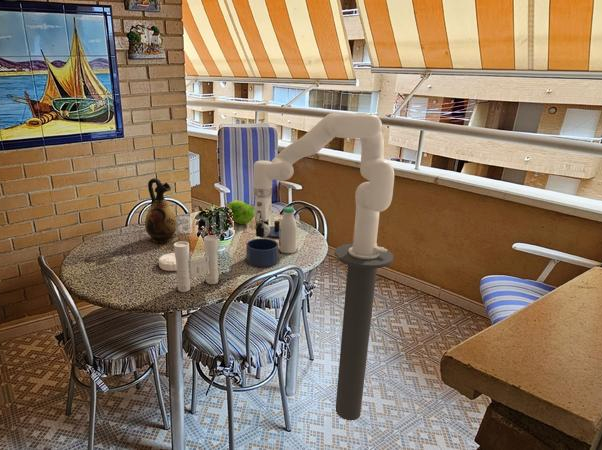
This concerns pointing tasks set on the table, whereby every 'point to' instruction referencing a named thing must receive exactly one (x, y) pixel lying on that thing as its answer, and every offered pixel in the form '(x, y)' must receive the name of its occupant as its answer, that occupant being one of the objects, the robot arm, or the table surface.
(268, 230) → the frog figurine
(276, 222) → the pot lid
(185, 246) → the binoculars
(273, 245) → the pot
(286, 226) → the milk bottle
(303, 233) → the table surface
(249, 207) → the green fuzzy rounded mound
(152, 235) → the ceramic jug
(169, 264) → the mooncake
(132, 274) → the table surface
